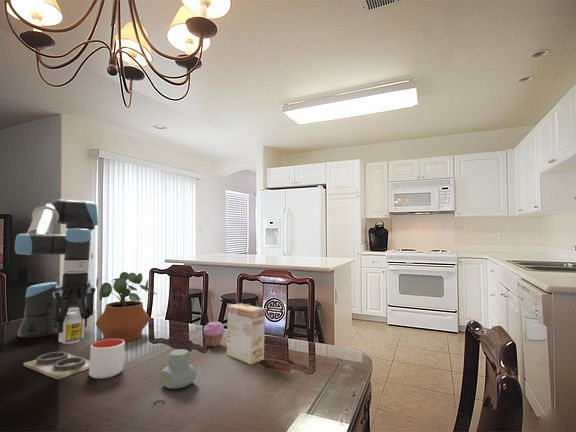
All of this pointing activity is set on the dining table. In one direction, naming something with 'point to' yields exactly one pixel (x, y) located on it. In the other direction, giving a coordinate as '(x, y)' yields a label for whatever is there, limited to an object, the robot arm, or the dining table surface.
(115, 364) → the cup
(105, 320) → the potted plant
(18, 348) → the dining table surface
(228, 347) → the coffeecake box
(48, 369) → the caddy
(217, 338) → the cupcake
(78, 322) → the supplement bottle
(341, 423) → the dining table surface
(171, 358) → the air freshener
